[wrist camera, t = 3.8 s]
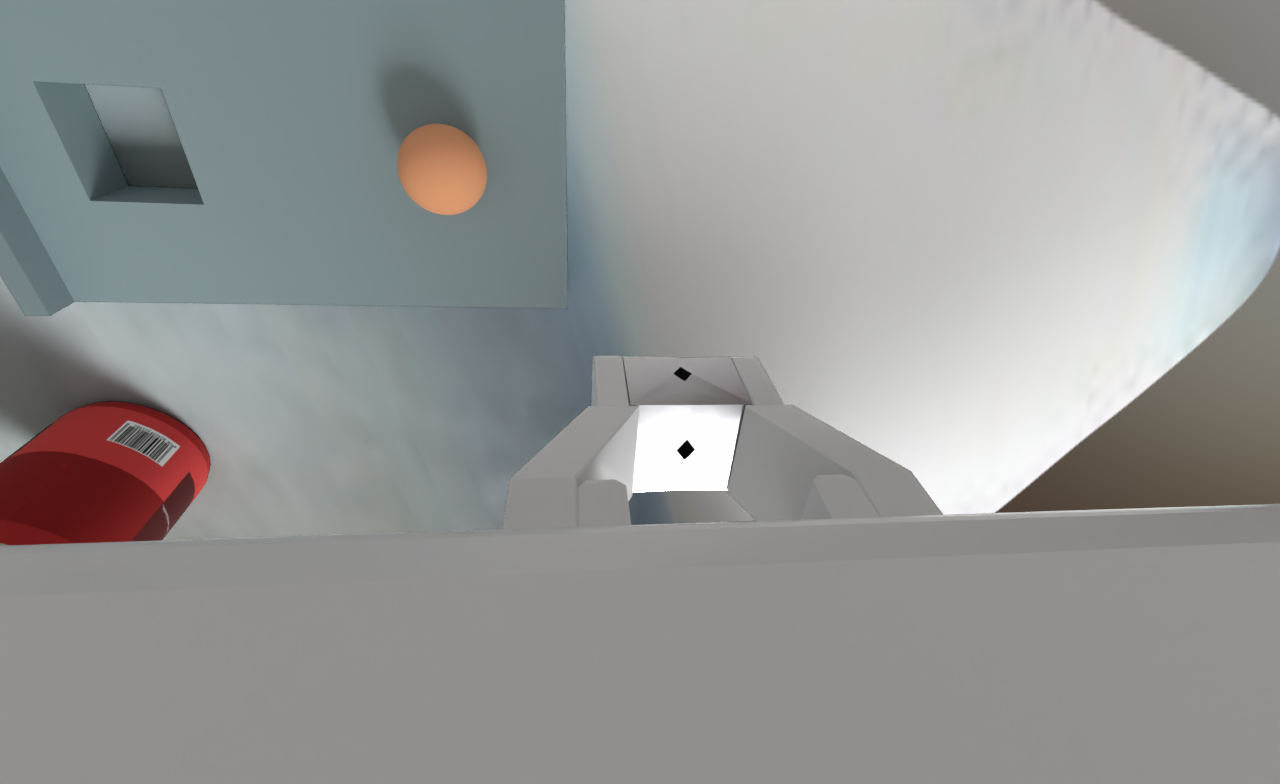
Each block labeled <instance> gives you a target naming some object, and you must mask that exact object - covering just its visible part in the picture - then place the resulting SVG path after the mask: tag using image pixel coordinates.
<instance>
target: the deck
mask: <svg viewBox="0 0 1280 784" xmlns="http://www.w3.org/2000/svg"><path fill="white" fill-rule="evenodd" d="M84 84H92V85H110V86H128V87H146V88H161V90H162V92H163V95H164V98H165V100H166V103H167V106H168V108H169V111H170V114H171V117H172V119H173V122H174V125H175V127H176V130H177V133H178V135H179V138H180V141H181V144H182V146H183V149H184V152H185V154H186V157H187V160H188V163H189V165H190V168H191V171H192V173H193V176H194V179H195V181H196V184H197V187H198V189H193V188H166V187H138V186H128V184H127V181H126V179H125V177H124V175H123V172H122V170H121V168H120V165H119V163H118V161H117V159H116V156H115V154H114V152H113V149H112V147H111V145H110V143H109V140H108V138H107V136H106V133H105V131H104V129H103V126H102V124H101V122H100V120H99V117H98V115H97V113H96V110H95V108H94V106H93V104H92V101H91V99H90V97H89V94H88V92H87V90H86V88H85V85H84ZM428 124H445V125H449V126H452V127H455V128H457V129H459V130H461V131H462V132H464V133H465V134H467V135H468V136H469V137H470V138H471V139H472V140H473V141H474V142H475V143H476V145H477V146H478V147H479V149H480V151H481V153H482V155H483V157H484V160H485V163H486V168H487V183H486V187H485V190H484V192H483V195H482V196H481V198H480V199H479V201H478V202H477V203H476V204H475V205H474V206H473V207H472V208H470V209H469V210H467V211H465V212H462V213H459V214H455V215H441V214H436V213H433V212H430V211H428V210H426V209H424V208H422V207H421V206H419V205H418V204H417V203H415V202H414V201H413V200H412V199H411V198H410V196H409V195H408V194H407V193H406V191H405V190H404V188H403V186H402V184H401V181H400V179H399V175H398V170H397V158H398V152H399V149H400V147H401V145H402V143H403V141H404V140H405V138H406V137H407V136H408V135H409V134H410V133H411V132H412V131H414V130H415V129H417V128H419V127H422V126H425V125H428ZM0 276H1V278H2V279H3V281H4V283H5V284H6V286H7V288H8V289H9V291H10V292H11V294H12V296H13V297H14V299H15V301H16V302H17V304H18V305H19V307H20V309H21V310H22V312H23V314H24V315H25V316H51V315H52V314H54V313H56V312H58V311H59V310H61V309H63V308H65V307H66V306H68V305H70V304H72V303H73V302H130V303H203V304H276V305H349V306H422V307H495V308H567V293H568V283H567V186H566V88H565V0H0Z"/></svg>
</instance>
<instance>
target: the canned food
mask: <svg viewBox="0 0 1280 784" xmlns="http://www.w3.org/2000/svg"><path fill="white" fill-rule="evenodd" d="M210 465H211V463H210V456H209V453H208V451H207V449H206V447H205V445H204V444H203V443H202V441H201V440H200V438H199V437H198V436H197V435H196V434H195V433H194V432H192V431H191V430H190V429H189V428H188V427H186V426H185V425H184V424H182V423H181V422H179V421H177V420H176V419H174V418H172V417H170V416H168V415H166V414H164V413H162V412H159V411H157V410H154V409H152V408H148V407H145V406H141V405H137V404H132V403H126V402H110V401H109V402H99V403H93V404H90V405H86V406H83V407H80V408H78V409H75V410H72V411H70V412H68V413H66V414H64V415H63V416H61V417H59V418H58V419H57V420H55V421H54V422H53V423H52V424H50V425H49V426H48V427H46V428H45V429H44V430H43V431H41V432H40V433H39V434H37V435H36V436H35V437H34V438H32V439H31V440H30V441H28V442H27V443H26V444H25V445H23V446H22V447H21V448H19V449H18V450H17V451H15V452H14V453H13V454H12V455H10V456H9V457H8V458H6V459H5V460H4V461H3V462H1V463H0V546H10V545H40V544H70V543H100V542H131V541H161V540H163V539H164V537H165V536H166V535H167V534H168V532H169V531H170V530H171V528H172V527H173V526H174V524H175V523H176V522H177V521H178V519H179V518H180V517H181V515H182V514H183V513H184V512H185V510H186V509H187V508H188V506H189V505H190V504H191V502H192V501H193V500H194V499H195V497H196V496H197V495H198V493H199V492H200V491H201V490H202V488H203V486H204V485H205V483H206V482H207V478H208V474H209V470H210Z"/></svg>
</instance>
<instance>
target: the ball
mask: <svg viewBox="0 0 1280 784" xmlns="http://www.w3.org/2000/svg"><path fill="white" fill-rule="evenodd" d="M397 170H398V175H399V179H400V181H401V184H402V186H403V188H404V190H405V191H406V193H407V194H408V195H409V196H410V198H411V199H412V200H413V201H414V202H415V203H417V204H418V205H419V206H421V207H422V208H424V209H426V210H428V211H430V212H433V213H436V214H441V215H455V214H459V213H462V212H465V211H467V210H469V209H470V208H472V207H473V206H474V205H475V204H476V203H477V202H478V201H479V199H480V198H481V196H482V195H483V192H484V190H485V187H486V183H487V168H486V163H485V160H484V157H483V155H482V153H481V151H480V149H479V147H478V146H477V145H476V143H475V142H474V141H473V140H472V139H471V138H470V137H469V136H468V135H467V134H465V133H464V132H462V131H461V130H459V129H457V128H455V127H452V126H449V125H445V124H428V125H425V126H422V127H419V128H417V129H415V130H414V131H412V132H411V133H410V134H409V135H408V136H407V137H406V138H405V140H404V141H403V143H402V145H401V147H400V149H399V152H398V158H397Z"/></svg>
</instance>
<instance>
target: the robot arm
mask: <svg viewBox="0 0 1280 784" xmlns="http://www.w3.org/2000/svg"><path fill="white" fill-rule="evenodd" d="M673 490H727V493H728V494H729V495H730V496H731V497H732V498H733V499H734V500H735V501H737V502H738V503H739V504H740V505H741V506H742V507H743V508H744V509H745V510H746V511H747V512H748V513H749V514H750V515H751V516H752V517H753V518H754V519H755V520H756V521H741V522H710V523H680V524H649V525H631V519H630V511H629V504H628V502H629V500H630V499H631V497H632V495H633V493H635V492H654V491H673ZM0 784H1280V504H1263V505H1231V506H1201V507H1174V508H1173V507H1170V508H1142V509H1141V508H1138V509H1107V510H1078V511H1077V510H1076V511H1048V512H1047V511H1044V512H1016V513H1015V512H1014V513H984V514H953V515H943V514H942V512H941V511H940V510H939V508H938V507H937V506H936V504H935V503H934V502H933V500H932V499H931V497H930V496H929V495H928V493H927V492H926V491H925V489H924V488H923V487H922V485H921V484H920V483H919V481H918V480H917V479H916V477H915V476H914V475H913V473H912V472H911V471H909V470H908V469H906V468H904V467H902V466H901V465H899V464H897V463H895V462H893V461H892V460H890V459H888V458H886V457H884V456H883V455H881V454H879V453H877V452H876V451H874V450H872V449H870V448H868V447H867V446H865V445H863V444H861V443H860V442H858V441H856V440H854V439H852V438H851V437H849V436H847V435H845V434H844V433H842V432H840V431H838V430H836V429H835V428H833V427H831V426H829V425H828V424H826V423H824V422H822V421H820V420H819V419H817V418H815V417H813V416H811V415H810V414H808V413H806V412H804V411H803V410H801V409H799V408H797V407H795V406H794V405H784V403H783V401H782V399H781V398H780V396H779V394H778V392H777V390H776V389H775V387H774V385H773V383H772V382H771V380H770V378H769V376H768V374H767V373H766V371H765V369H764V367H763V366H762V364H761V362H760V360H759V359H758V358H757V357H755V356H741V357H688V358H676V357H643V356H622V357H621V356H620V355H618V356H593V362H592V399H591V406H588V407H587V408H586V409H585V410H584V411H582V412H581V413H580V414H579V415H578V416H577V417H576V418H575V419H574V420H573V421H572V422H571V423H570V424H568V425H567V426H566V427H565V428H564V429H563V430H562V431H561V432H560V433H559V434H558V435H557V436H556V437H555V438H553V439H552V440H551V441H550V442H549V443H548V444H547V445H546V446H545V447H544V448H543V449H542V450H541V451H539V452H538V453H537V454H536V455H535V456H534V457H533V458H532V459H531V460H530V461H529V462H528V463H527V464H526V465H524V466H523V467H522V468H521V469H520V470H519V471H518V472H517V473H516V474H515V475H514V476H513V477H512V478H510V479H509V485H508V492H507V500H506V507H505V514H504V521H503V528H502V529H496V530H466V531H435V532H404V533H374V534H343V535H313V536H282V537H252V538H221V539H191V540H161V541H131V542H100V543H70V544H40V545H10V546H0Z"/></svg>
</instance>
